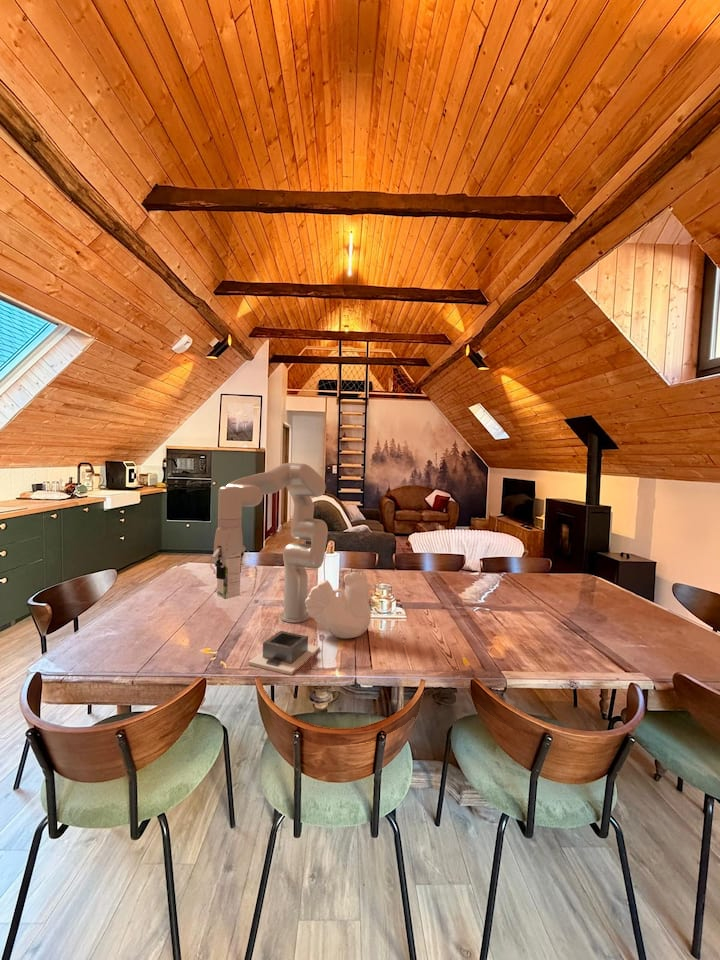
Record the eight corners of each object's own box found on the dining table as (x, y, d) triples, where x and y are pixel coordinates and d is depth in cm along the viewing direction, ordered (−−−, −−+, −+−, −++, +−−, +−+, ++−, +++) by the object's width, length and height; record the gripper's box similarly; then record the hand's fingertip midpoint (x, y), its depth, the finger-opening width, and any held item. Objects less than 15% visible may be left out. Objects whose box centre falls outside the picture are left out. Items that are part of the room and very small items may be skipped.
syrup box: (216, 595, 147) (216, 552, 146) (232, 591, 151) (233, 550, 150) (224, 599, 143) (225, 555, 142) (240, 596, 147) (241, 553, 146)
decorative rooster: (372, 628, 177) (374, 567, 175) (367, 645, 161) (369, 578, 160) (312, 622, 180) (314, 563, 179) (301, 638, 165) (303, 573, 163)
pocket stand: (280, 641, 161) (281, 625, 161) (319, 649, 156) (320, 633, 155) (248, 664, 143) (248, 646, 142) (291, 675, 137) (291, 656, 137)
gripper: (236, 519, 155) (235, 568, 156) (202, 526, 139) (201, 580, 140) (254, 520, 153) (253, 571, 154) (221, 528, 136) (221, 584, 137)
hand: (228, 575), depth 147 cm, fingers closed on syrup box, 7 cm apart
